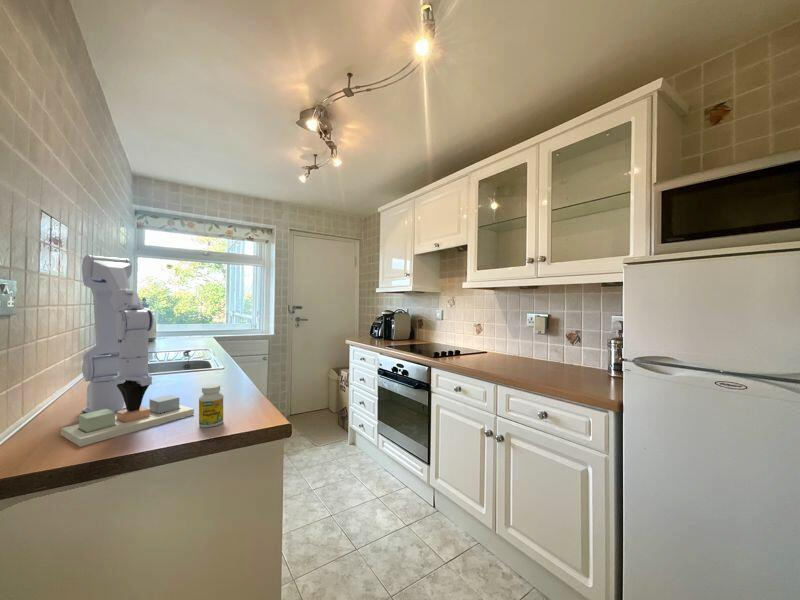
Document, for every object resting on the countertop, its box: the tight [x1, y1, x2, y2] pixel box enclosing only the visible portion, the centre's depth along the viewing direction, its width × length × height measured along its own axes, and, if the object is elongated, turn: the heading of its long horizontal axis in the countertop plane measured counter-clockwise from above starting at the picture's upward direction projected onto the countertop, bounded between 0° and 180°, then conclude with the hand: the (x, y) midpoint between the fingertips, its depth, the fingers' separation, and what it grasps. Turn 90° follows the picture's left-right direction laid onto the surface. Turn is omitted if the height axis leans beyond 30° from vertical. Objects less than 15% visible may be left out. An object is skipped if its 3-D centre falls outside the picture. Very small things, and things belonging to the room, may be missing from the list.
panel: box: [60, 403, 195, 448], centre depth 82 cm, size 12×23×2 cm, turn 150°
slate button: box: [148, 394, 180, 415], centre depth 88 cm, size 5×5×3 cm
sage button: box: [78, 409, 116, 433], centre depth 76 cm, size 5×5×3 cm
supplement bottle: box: [198, 384, 224, 428], centre depth 82 cm, size 5×5×10 cm
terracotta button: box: [116, 405, 150, 423], centre depth 82 cm, size 5×5×3 cm
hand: (133, 410), depth 82 cm, fingers closed, pressing on terracotta button
